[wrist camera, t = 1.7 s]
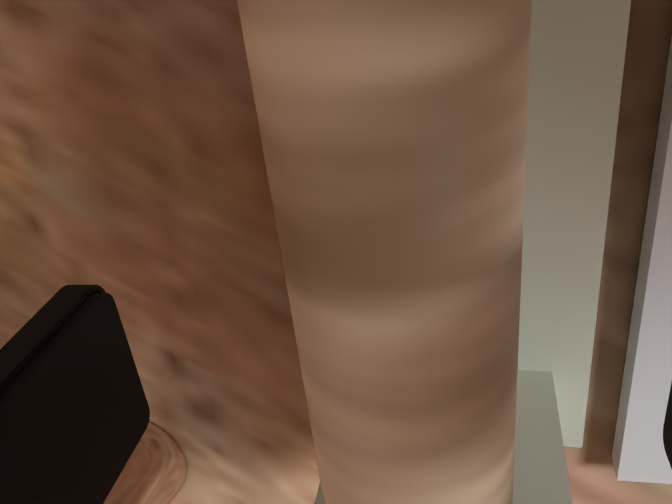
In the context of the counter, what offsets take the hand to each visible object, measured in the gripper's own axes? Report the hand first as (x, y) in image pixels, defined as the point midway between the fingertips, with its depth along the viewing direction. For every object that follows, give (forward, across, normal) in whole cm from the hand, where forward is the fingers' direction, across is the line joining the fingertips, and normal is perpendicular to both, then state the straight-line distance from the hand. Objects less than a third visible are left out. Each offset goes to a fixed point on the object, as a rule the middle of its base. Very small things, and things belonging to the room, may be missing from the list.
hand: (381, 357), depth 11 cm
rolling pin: (+5, -1, 0) cm, 5 cm away
